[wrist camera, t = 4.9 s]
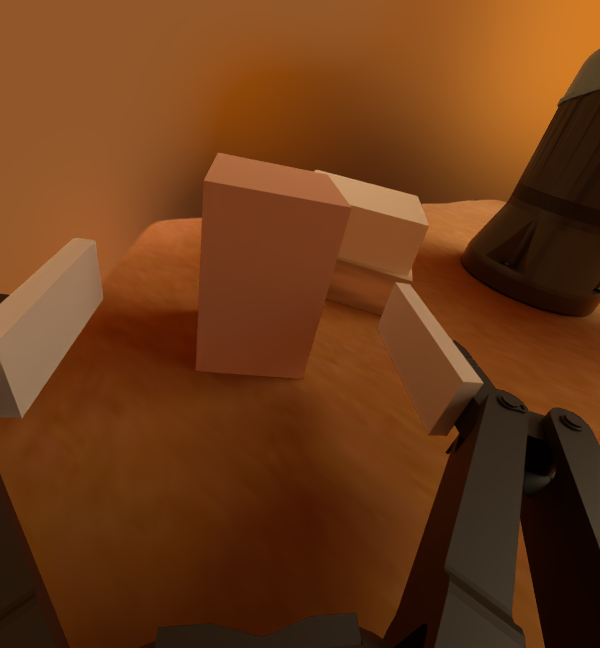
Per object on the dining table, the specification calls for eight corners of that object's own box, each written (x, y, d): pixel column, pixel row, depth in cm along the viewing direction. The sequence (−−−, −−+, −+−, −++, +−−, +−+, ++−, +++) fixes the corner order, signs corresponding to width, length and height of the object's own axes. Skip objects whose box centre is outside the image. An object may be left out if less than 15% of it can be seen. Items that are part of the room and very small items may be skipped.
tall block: (208, 310, 24) (218, 152, 18) (293, 319, 25) (327, 174, 19) (195, 370, 19) (203, 180, 13) (302, 379, 20) (351, 207, 14)
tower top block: (307, 210, 35) (316, 169, 33) (402, 236, 35) (417, 196, 33) (284, 241, 27) (293, 189, 25) (407, 275, 26) (429, 225, 24)
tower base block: (298, 244, 38) (306, 208, 36) (395, 272, 37) (409, 237, 35) (267, 285, 29) (274, 240, 27) (394, 324, 28) (412, 281, 26)
